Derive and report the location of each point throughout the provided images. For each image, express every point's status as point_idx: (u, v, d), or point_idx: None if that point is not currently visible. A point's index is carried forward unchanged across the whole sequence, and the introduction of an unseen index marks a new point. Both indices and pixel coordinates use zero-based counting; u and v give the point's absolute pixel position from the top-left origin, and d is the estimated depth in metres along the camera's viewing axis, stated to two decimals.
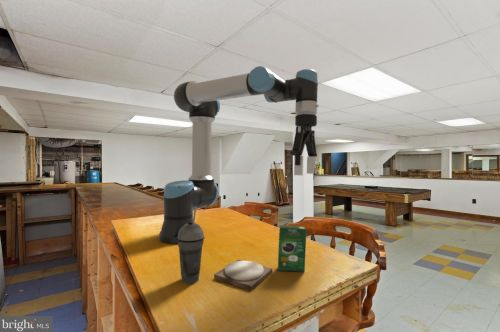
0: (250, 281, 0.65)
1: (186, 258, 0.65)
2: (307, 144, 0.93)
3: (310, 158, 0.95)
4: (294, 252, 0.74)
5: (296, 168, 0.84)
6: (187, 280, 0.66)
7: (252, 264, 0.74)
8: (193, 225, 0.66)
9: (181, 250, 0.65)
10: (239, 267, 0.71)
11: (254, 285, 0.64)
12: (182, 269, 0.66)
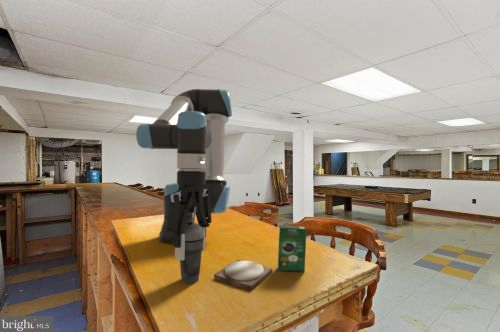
0: (250, 281, 0.65)
1: (186, 258, 0.65)
2: None
3: None
4: (294, 252, 0.74)
5: (176, 250, 0.64)
6: (187, 280, 0.66)
7: (252, 264, 0.74)
8: (193, 225, 0.66)
9: None
10: (239, 267, 0.71)
11: (254, 285, 0.64)
12: (182, 269, 0.66)
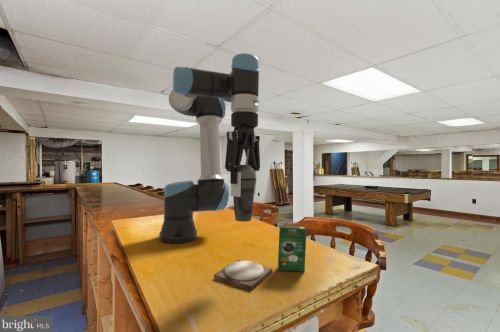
0: (250, 281, 0.65)
1: (241, 196, 0.67)
2: None
3: None
4: (294, 252, 0.74)
5: (232, 187, 0.67)
6: (242, 218, 0.68)
7: (252, 264, 0.74)
8: (247, 165, 0.69)
9: None
10: (239, 267, 0.71)
11: (254, 285, 0.64)
12: (237, 207, 0.68)
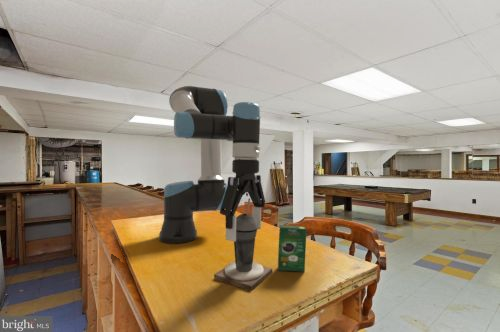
0: (250, 281, 0.65)
1: (242, 247, 0.68)
2: (250, 193, 0.74)
3: (256, 209, 0.76)
4: (294, 252, 0.74)
5: (228, 231, 0.65)
6: (242, 268, 0.68)
7: (252, 264, 0.74)
8: (248, 216, 0.69)
9: (237, 240, 0.68)
10: None
11: (254, 285, 0.64)
12: (238, 258, 0.69)
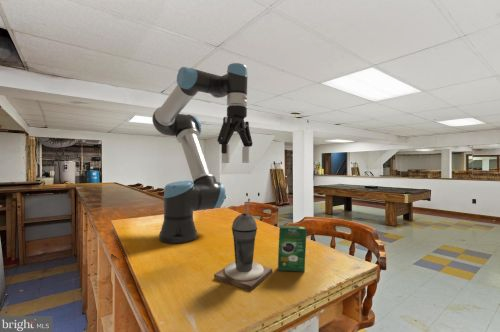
0: (250, 281, 0.65)
1: (242, 247, 0.68)
2: (240, 134, 0.98)
3: (245, 148, 1.00)
4: (294, 252, 0.74)
5: (223, 156, 0.89)
6: (242, 268, 0.68)
7: (252, 264, 0.74)
8: (247, 216, 0.69)
9: (237, 240, 0.68)
10: None
11: (254, 285, 0.64)
12: (238, 258, 0.69)
